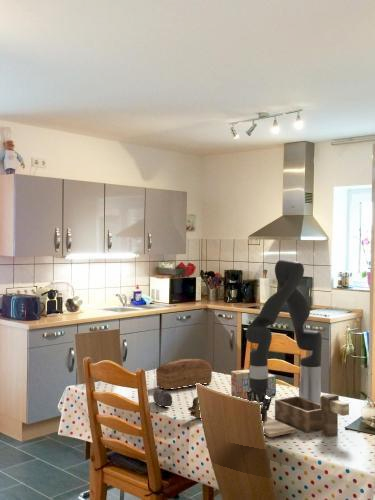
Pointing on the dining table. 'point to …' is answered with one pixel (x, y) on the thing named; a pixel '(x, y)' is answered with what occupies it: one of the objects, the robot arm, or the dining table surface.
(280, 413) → the brown wooden blocky piece
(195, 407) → the wooden carving
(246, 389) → the stack of blocks
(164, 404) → the perforated stone tool
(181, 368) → the bread
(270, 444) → the dining table surface
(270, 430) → the lid
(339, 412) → the wooden key
